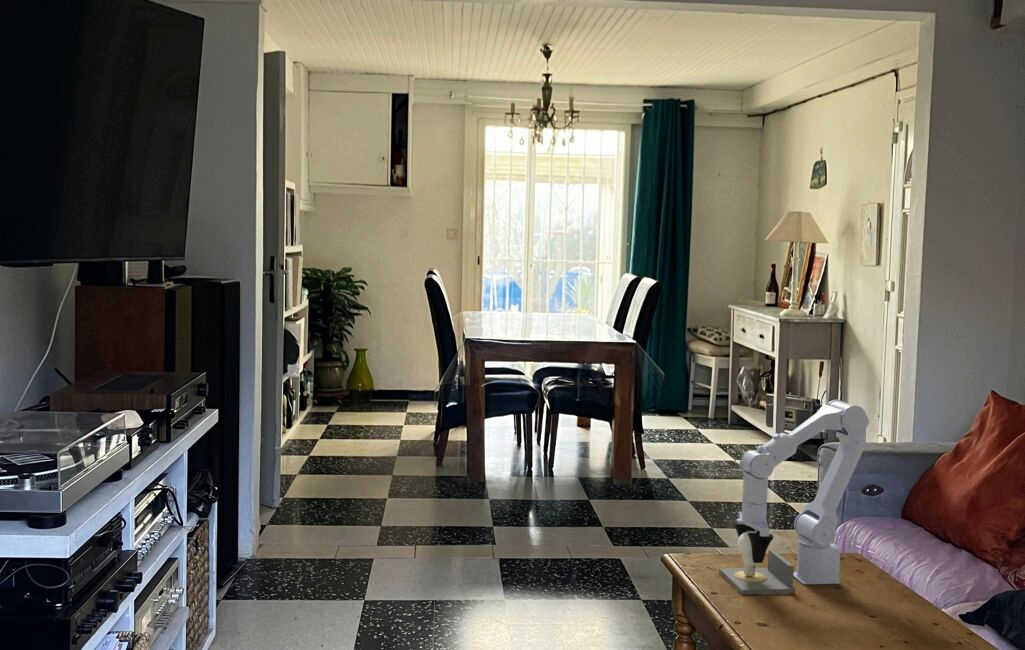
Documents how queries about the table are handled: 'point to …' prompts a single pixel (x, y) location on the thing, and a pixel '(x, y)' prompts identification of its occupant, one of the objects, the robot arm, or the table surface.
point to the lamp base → (763, 577)
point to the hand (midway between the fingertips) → (751, 557)
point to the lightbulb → (746, 553)
